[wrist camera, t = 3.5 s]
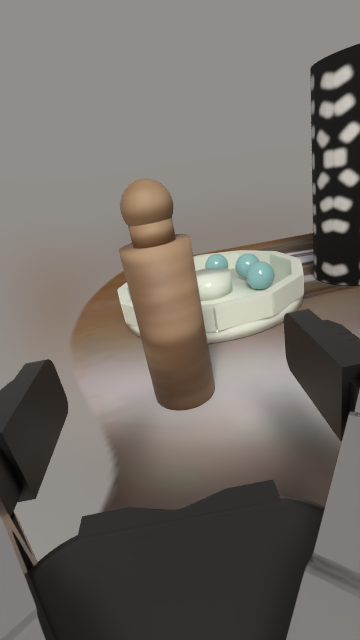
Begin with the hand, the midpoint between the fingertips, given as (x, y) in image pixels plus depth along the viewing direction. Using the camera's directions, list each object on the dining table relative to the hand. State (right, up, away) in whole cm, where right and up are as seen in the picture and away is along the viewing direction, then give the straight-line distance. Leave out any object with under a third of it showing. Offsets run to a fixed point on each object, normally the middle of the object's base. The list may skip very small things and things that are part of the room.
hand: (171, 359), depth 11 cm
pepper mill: (+1, -3, +11) cm, 11 cm away
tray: (+4, +3, +25) cm, 25 cm away
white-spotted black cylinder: (+20, +6, +25) cm, 33 cm away
